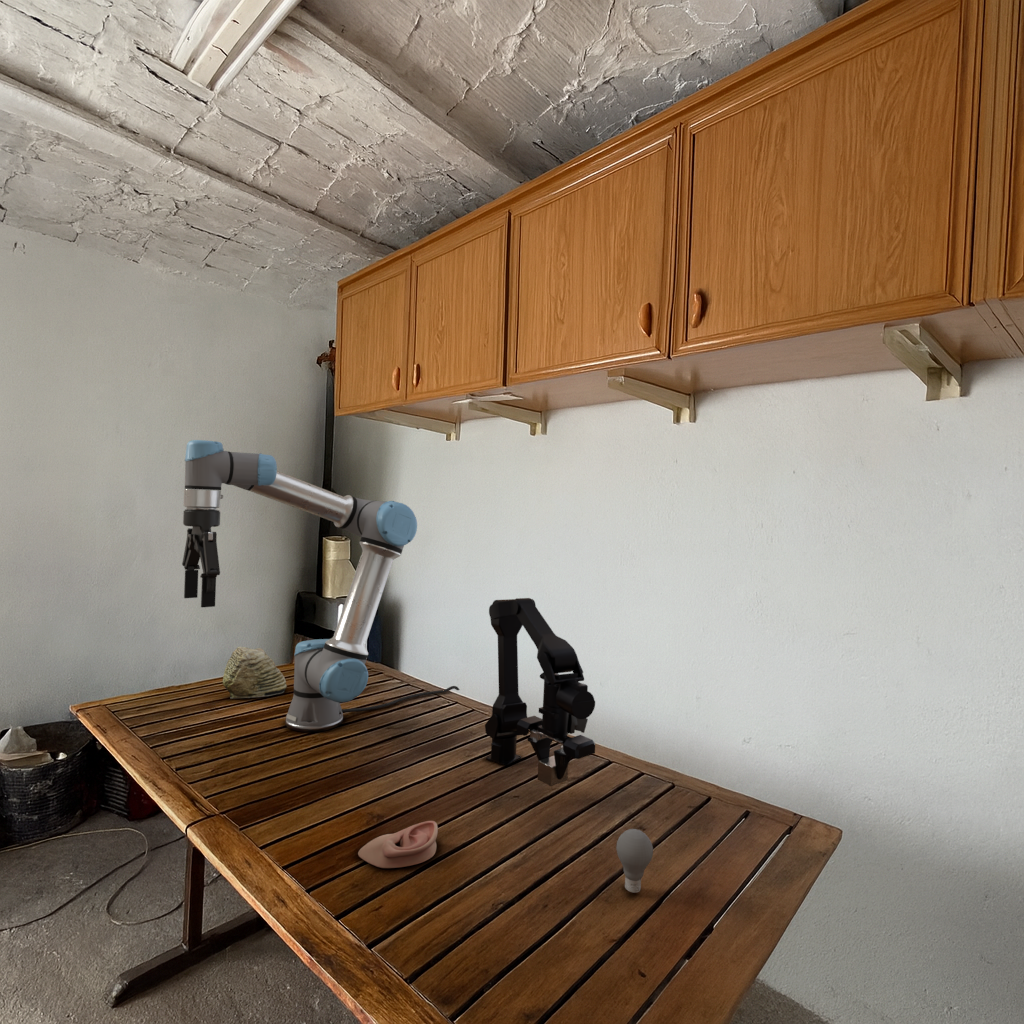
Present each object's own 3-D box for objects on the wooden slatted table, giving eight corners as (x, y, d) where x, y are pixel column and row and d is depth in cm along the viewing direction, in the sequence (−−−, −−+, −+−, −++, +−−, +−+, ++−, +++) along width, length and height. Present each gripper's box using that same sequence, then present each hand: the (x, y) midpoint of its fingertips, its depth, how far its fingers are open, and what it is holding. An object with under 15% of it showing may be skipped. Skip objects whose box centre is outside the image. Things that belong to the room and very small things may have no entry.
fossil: (218, 695, 195) (220, 647, 195) (278, 685, 208) (279, 640, 207) (228, 703, 189) (230, 653, 188) (289, 692, 201) (290, 645, 201)
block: (551, 786, 134) (551, 767, 134) (537, 779, 137) (538, 760, 137) (567, 780, 138) (568, 761, 137) (554, 773, 141) (554, 755, 141)
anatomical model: (350, 840, 110) (378, 809, 121) (349, 863, 110) (377, 829, 121) (423, 852, 107) (444, 819, 118) (422, 875, 107) (443, 840, 118)
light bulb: (610, 879, 108) (613, 822, 108) (644, 879, 109) (647, 822, 109) (619, 902, 102) (622, 840, 102) (655, 901, 103) (658, 840, 103)
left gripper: (237, 511, 137) (234, 609, 137) (203, 507, 155) (200, 593, 156) (200, 510, 132) (196, 612, 132) (170, 506, 150) (167, 595, 151)
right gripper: (613, 708, 135) (610, 781, 136) (551, 686, 149) (548, 752, 150) (578, 719, 128) (574, 795, 128) (516, 695, 142) (513, 763, 142)
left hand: (199, 602), depth 144 cm, fingers open, 13 cm apart
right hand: (552, 775), depth 137 cm, fingers closed on block, 4 cm apart
